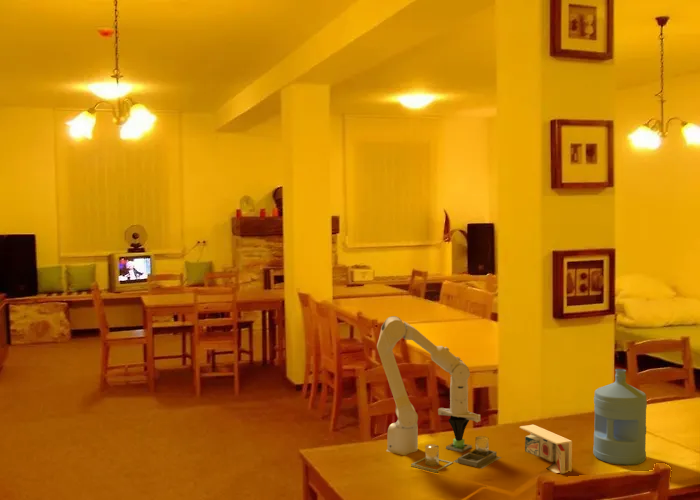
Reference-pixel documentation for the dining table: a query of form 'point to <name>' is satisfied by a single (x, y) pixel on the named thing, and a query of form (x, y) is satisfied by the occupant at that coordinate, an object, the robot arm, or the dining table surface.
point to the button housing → (459, 448)
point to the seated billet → (482, 445)
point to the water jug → (620, 422)
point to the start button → (458, 443)
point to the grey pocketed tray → (477, 459)
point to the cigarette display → (549, 448)
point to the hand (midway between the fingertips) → (459, 439)
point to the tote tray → (429, 468)
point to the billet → (432, 455)
